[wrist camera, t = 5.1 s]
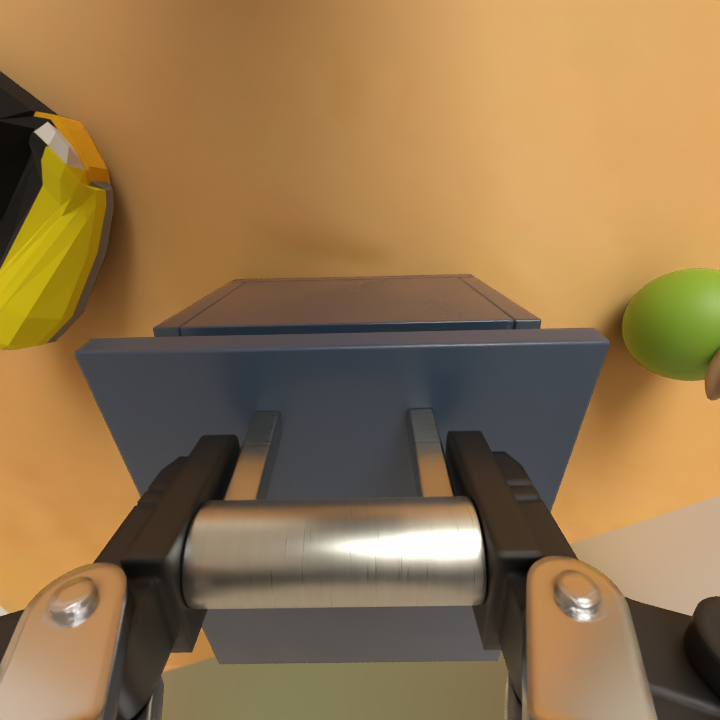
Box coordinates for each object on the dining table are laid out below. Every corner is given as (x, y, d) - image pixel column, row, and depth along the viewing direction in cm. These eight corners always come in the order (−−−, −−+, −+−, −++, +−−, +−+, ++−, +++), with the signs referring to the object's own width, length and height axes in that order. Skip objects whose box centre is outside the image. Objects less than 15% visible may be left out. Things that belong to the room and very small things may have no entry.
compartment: (233, 279, 21) (151, 327, 13) (471, 274, 21) (542, 319, 13) (266, 509, 27) (224, 644, 19) (452, 506, 27) (493, 641, 19)
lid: (90, 336, 10) (-140, 522, 5) (595, 326, 10) (801, 506, 5) (223, 644, 19) (179, 817, 14) (493, 641, 19) (538, 814, 14)
